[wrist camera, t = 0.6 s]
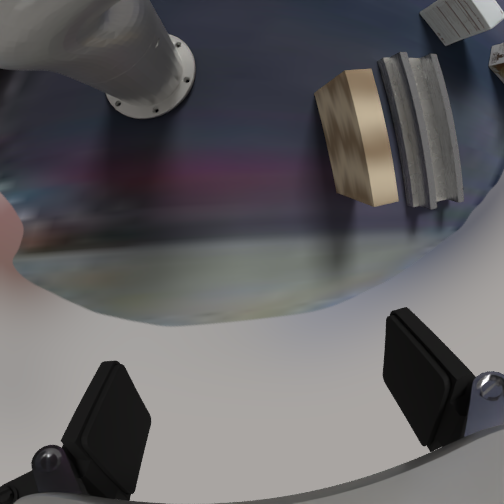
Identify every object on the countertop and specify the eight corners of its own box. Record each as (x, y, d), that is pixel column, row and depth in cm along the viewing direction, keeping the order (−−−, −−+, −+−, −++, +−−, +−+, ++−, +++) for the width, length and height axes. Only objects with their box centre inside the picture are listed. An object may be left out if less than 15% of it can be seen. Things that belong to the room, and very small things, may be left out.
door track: (377, 61, 34) (393, 52, 30) (423, 61, 34) (441, 54, 30) (406, 204, 41) (424, 211, 36) (449, 194, 41) (468, 199, 36)
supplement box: (437, 1, 30) (479, -23, 18) (462, 33, 32) (508, 17, 20) (417, 12, 31) (460, -15, 19) (444, 47, 33) (492, 29, 21)
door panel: (313, 93, 36) (344, 70, 25) (334, 90, 36) (371, 68, 24) (336, 192, 40) (374, 206, 29) (356, 188, 40) (398, 201, 29)
